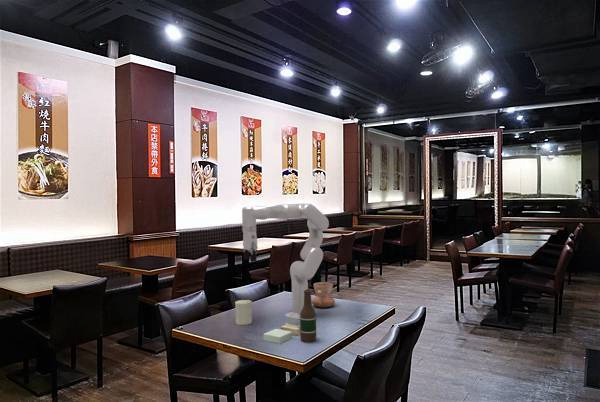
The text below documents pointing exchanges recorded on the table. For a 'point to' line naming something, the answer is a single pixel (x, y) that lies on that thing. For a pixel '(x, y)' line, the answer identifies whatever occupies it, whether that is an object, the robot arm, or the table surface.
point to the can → (243, 312)
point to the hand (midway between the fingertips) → (250, 260)
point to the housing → (293, 319)
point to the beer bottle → (307, 319)
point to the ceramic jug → (323, 295)
